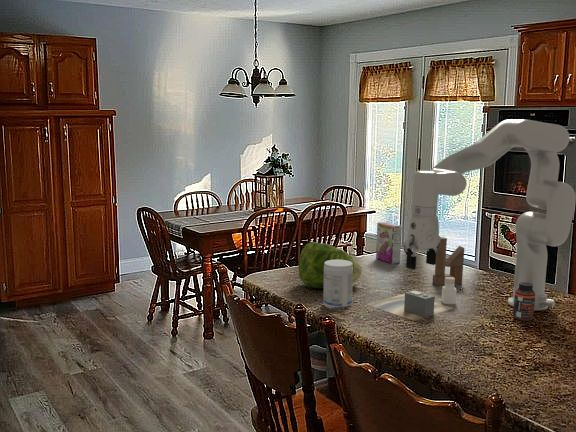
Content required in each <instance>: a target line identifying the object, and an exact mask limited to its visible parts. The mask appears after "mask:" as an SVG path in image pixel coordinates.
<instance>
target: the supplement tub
mask: <svg viewBox="0 0 576 432" xmlns="http://www.w3.org/2000/svg"><path fill="white" fill-rule="evenodd" d="M353 283H354V282H353V263H352V262H350V261H347V260H338V259H336V260H328V261H325V263H324V288H322V289H323V294H322V295H323V305H324V307H325V308H327V309H334V308H345V307H346V308H347V307H350V306H351V305H353V285H354V284H353Z"/></svg>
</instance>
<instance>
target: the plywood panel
mask: <svg viewBox="0 0 576 432" xmlns="http://www.w3.org/2000/svg"><path fill="white" fill-rule="evenodd" d="M404 302H405V293H402V294H399V295H395V296H392V297H387V298H384V299H380V300H375V301H372V302H369V303H366V304H365V305H366V306H369V307H372V308H375V309H378V310H380V311H383V312H387V313H389V314H392V315H396V316H399V317H402V318H405V319H408V320H411V321H413V322H417V321H419V320H422V319H425V318H424V317H421V316H418V315H415V314H412V313H409V312H406V311H404ZM454 309H455V308H454V307H451V306H447V305H446V304H441V303H438V302H435V301H434V315H433V316H435V315H438V314H442V313H444V312H447V311H450V310H454Z"/></svg>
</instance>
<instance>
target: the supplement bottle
mask: <svg viewBox="0 0 576 432" xmlns="http://www.w3.org/2000/svg"><path fill="white" fill-rule="evenodd" d="M532 289H533V284H531V283H527V282H520V283H519V288H518V289H516V291H515V297H514V307H513V309H512V310H513V311H512V317H513V318H514V319H515V320H516V321H521V322H531V321H532V320H533V319H534V313H535V312H534V304H535V292H534V291H533V290H532Z"/></svg>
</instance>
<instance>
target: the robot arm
mask: <svg viewBox="0 0 576 432" xmlns="http://www.w3.org/2000/svg"><path fill="white" fill-rule="evenodd" d="M569 142H570V133H569V131H568V130H567V128H566V127H564V126H563V125H560V124H556V123H548V122H543V121H538V120H531V119H524V118H522V119H520V118H519V119H516V118H515V119H513V118H511V119H504V120H502V121H500V122H499V123H497V124H496V125H495V126H494V127H493V128H491V129H490V130H489V131H488V132H487V133H485V134H484V135H483V136H481V137H480V138H479V139H478V140H477V141H474V143H473V144H471V145H469V146H467V147H464V148H462V149H461V150H458V151H456V152H454V153H452V154H450V155H447V157H445V158H443V159H442V160H441V161H439V162H438V163H437V164H436V165H435V166H433V167H432V168H431V169H430V170H417V171H415V173H414V174H413V181H412V182H413V183H412V185H413V186H412V196H411V216H410V219H409V225H408V230H407V231H408V232H407V239H405V240H404V241H403V242H402V247H403V252H404V253H405V256H406V263H405V267H406V268H407V269H409V270H416V268H417V256H416V255H417V253H418V251H425V250H426V255H425V256H426V257H425V260H426V261H425V262H426V263H425V264H427V265H432V266H435V263H436V252H437V251H438V249H437V248H438V247H439V243H440V240H441V237H442V236H441V235H440V225H439V224H440V222H439V217H438V201H439V195H443V196H450V197H455V196H458V195H460V194H462V193H463V192H464V191H465V190H466V188H467V179H466V177H465V176H464V175H463V174H465V173H468V172H471V171H476V170H481V169H484V168H488V167H490V166H492V165H493V164H494V163H496V161H498V160H499V159H501V157H503V156H505V154H506V153H508V152H509V151H510V150H512V149H513V148H523V149H524V150H525V151H526V152H527V153H526V154H528V156H529V159H530V172H529V177H528V182H527V183H528V184H527V188H526V195H525V200H526V203H527V204H528V205H529V206H530V207H532V208H536V209H540V210H544V211H546V213H543V212H539V211H538V212H537V211H526V212H523V213H522V214H520V215H519V216H518V218H517V219H516V222H515V225H514V226H515V236H516V237H515V238H516V255H515V256H516V257H515V267H514V280H513V292H512V296H511V297H509V298H508V299H507V304H508V305H510V306H511V307H513V308H514V297H515V291H516V289H518V288H519V283H520V282H527V283H531V284H533V289H532V290H533V291H534V292H535V304H534V311H538V312H539V311H545V310H547V309H548V308H550V307H551V308H554V307H555V306H556V303H555V300H554V299H549V298H548V294H547V293H545V290H546V288H545V287H546V277H547V266H548V248H547V246H550V247H559V246H561V245H563V244H565V242H566V240H567V239H568V237H569V234H570V230H571V226H572V222H573V216H574V211H575V208H576V207H575V206H576V192H575V190H574V188H573V187H572V185H570V184H568V183H566V182H563V181H559V174H560V166H561V165H560V159H559V156H558V154H557V153H559V152H562V151H564V150H565V149H566V148H567V146H568V145H569Z"/></svg>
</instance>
